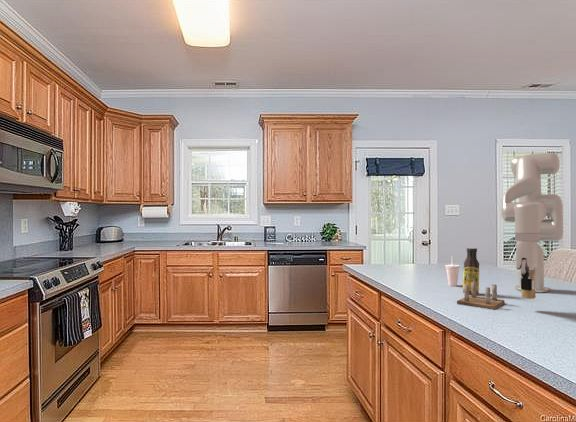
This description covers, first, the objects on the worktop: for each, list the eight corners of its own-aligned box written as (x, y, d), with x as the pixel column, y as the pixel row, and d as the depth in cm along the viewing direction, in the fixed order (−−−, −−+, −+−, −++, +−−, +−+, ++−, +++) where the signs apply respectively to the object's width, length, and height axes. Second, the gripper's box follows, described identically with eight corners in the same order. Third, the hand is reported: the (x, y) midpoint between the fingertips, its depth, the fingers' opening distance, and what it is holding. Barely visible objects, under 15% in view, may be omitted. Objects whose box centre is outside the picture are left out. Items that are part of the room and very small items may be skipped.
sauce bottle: (462, 294, 163) (461, 248, 163) (463, 291, 169) (462, 246, 169) (479, 295, 160) (478, 248, 160) (479, 293, 166) (479, 247, 166)
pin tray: (469, 298, 156) (469, 280, 156) (504, 303, 147) (504, 284, 147) (456, 304, 147) (456, 285, 147) (493, 309, 137) (493, 289, 138)
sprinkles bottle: (520, 297, 136) (519, 260, 136) (522, 295, 139) (521, 258, 139) (535, 299, 133) (534, 261, 133) (537, 297, 136) (536, 259, 136)
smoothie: (459, 284, 185) (458, 255, 185) (460, 287, 179) (460, 257, 179) (445, 284, 187) (444, 255, 187) (446, 286, 181) (445, 257, 181)
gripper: (521, 235, 144) (522, 283, 145) (508, 239, 132) (509, 291, 133) (545, 236, 139) (546, 285, 139) (533, 240, 127) (534, 294, 127)
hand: (528, 288), depth 136 cm, fingers closed on sprinkles bottle, 4 cm apart
